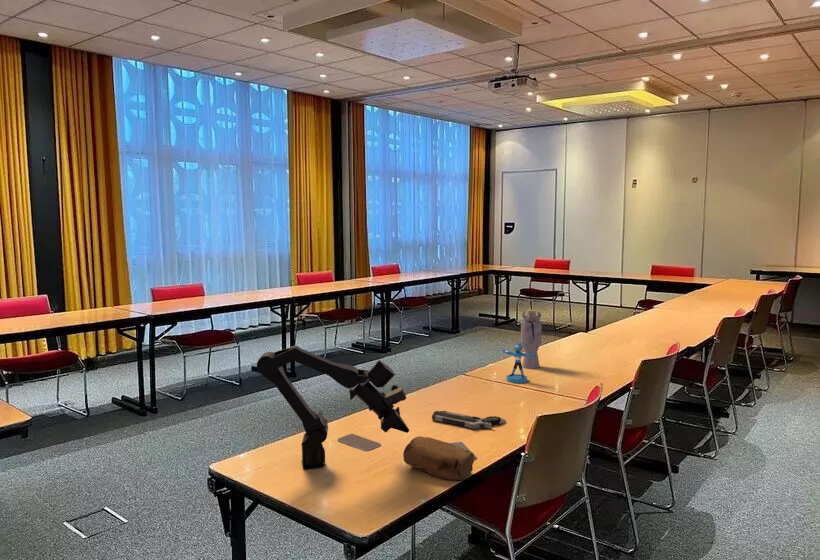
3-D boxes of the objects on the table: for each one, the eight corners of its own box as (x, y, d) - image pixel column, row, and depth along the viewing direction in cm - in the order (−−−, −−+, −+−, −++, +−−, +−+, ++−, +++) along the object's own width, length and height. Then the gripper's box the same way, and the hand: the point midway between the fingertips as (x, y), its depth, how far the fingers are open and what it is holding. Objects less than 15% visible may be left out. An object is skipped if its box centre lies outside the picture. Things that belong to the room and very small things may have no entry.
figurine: (496, 380, 279) (496, 342, 278) (506, 375, 287) (506, 339, 285) (530, 386, 268) (531, 347, 267) (540, 381, 276) (540, 343, 274)
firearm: (449, 405, 234) (430, 413, 222) (506, 416, 221) (489, 425, 208) (449, 413, 234) (429, 421, 222) (506, 424, 221) (488, 434, 209)
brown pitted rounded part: (421, 432, 187) (477, 449, 175) (420, 455, 188) (476, 473, 176) (401, 443, 178) (458, 462, 166) (400, 467, 179) (457, 487, 168)
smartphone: (366, 450, 193) (336, 439, 203) (366, 453, 193) (336, 441, 203) (382, 443, 199) (351, 433, 208) (382, 446, 199) (351, 435, 208)
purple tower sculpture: (529, 363, 312) (529, 307, 309) (545, 366, 304) (545, 309, 301) (516, 366, 305) (517, 309, 302) (532, 370, 297) (533, 311, 294)
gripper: (391, 387, 173) (429, 423, 175) (389, 371, 192) (423, 404, 193) (365, 414, 173) (403, 449, 175) (365, 396, 192) (399, 428, 194)
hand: (408, 431), depth 184 cm, fingers closed
